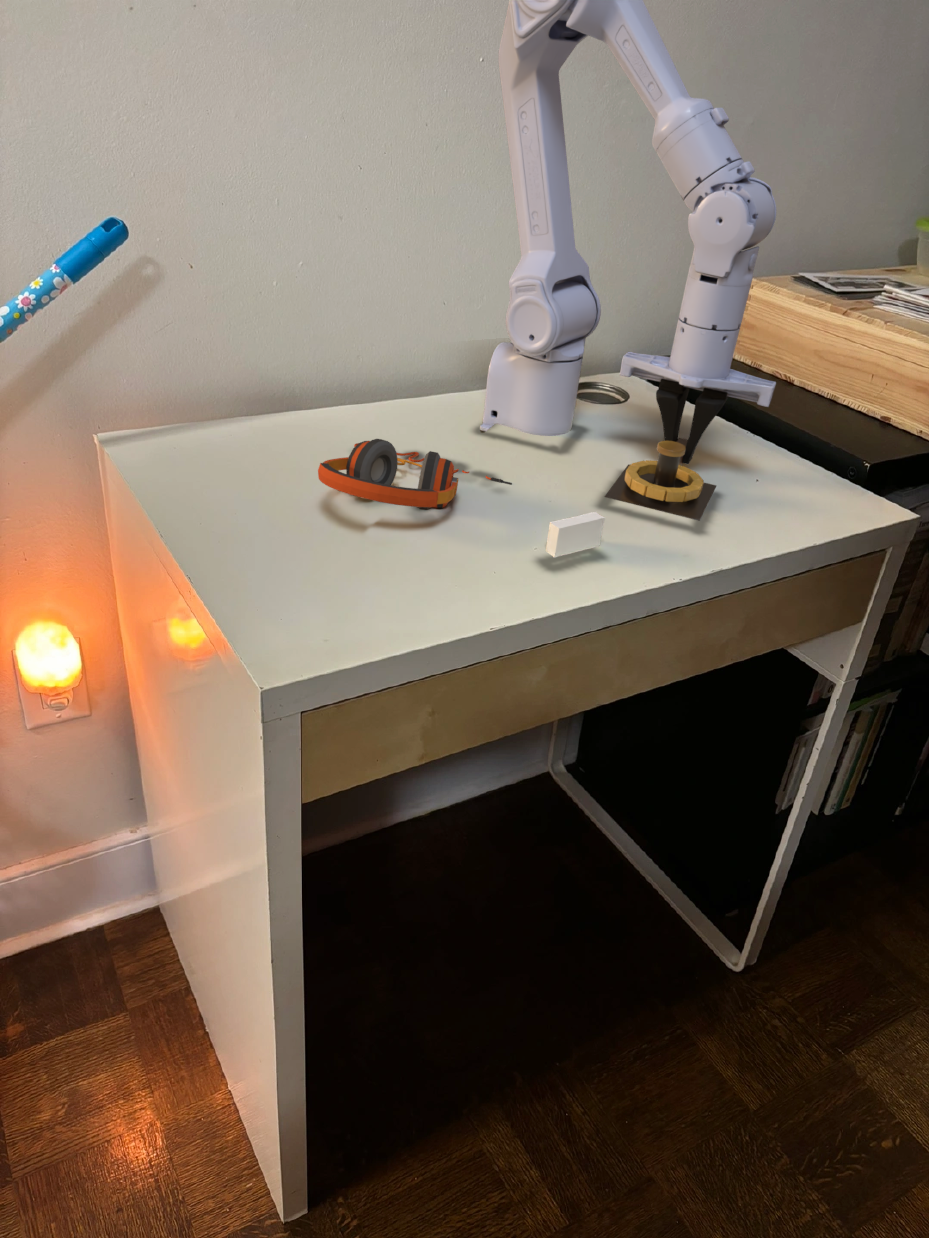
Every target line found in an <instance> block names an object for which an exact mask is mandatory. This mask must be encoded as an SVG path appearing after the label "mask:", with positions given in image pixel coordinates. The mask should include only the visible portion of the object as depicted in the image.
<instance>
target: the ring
mask: <svg viewBox="0 0 929 1238" xmlns="http://www.w3.org/2000/svg"><path fill="white" fill-rule="evenodd" d="M687 441H688V439H686V438H682V437H678V440H677V441H676V442H678V443H681V444H683V445H684V446H685V447H686V444H687ZM682 460H683V456H681V457H680V462H679V466H678V470H677V475H676V478H678V479H680V480H682V481H684V482H686V483H687V484H688V485H689V486H686V487H682V488H669V487H662V486H658V485H654V484H651V483H649V482H647V481H645V480H643V479H641V478H640V477H639V476H640V475H644V474H655V470H656V466H657V461H658V460H651V459H650V460H649V459H648V460H640V461H636V462H632V463H630V464H629V465H630V466H629V467H628V469H627V470H626V474H625V482H626V483H627V485H628V486H629V488H631V489H632V490H634V491H635V492H637V493H639V494H641V495H643V496H644V495H646V497H649V498H653V499H657V500H661V501H664V500H665V501H668V502H683V501H685V502H686V501H689V500H693V499H696V498H697V497H699V495H700V493H701V491H702V488H703V484H704V483H705V482H704V480H703V478H702V477H701V476H700V474H699V473H698V472H696V471H695V470H693V469H691V468H688V467H687V466H684V463H682Z"/></svg>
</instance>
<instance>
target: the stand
mask: <svg viewBox="0 0 929 1238" xmlns="http://www.w3.org/2000/svg"><path fill="white" fill-rule="evenodd" d="M685 450H686V447H685V446H684V445H683V444H681V443H678V442H674V441H665V440H660V441H658V443H657V446H656V451H657V452H658V456H657V460H656V461H657V466H656V470H655V474H644V475H640V476H639V477H640V478H641V479H643V480H645V481H647V482H649V483H651V484H654V485H658V486H662V487H669V488H682V487H686V486H689V485H688V484H687V483H686V482H684V481H682V480H680V479H678V478H676V475H677V470H678V466H679V462H680V457H681V456H683V455H684V454H685ZM629 466H630V464H627V465H626V467H625V468H624V469H623V471H622V472H621V474H620V475H619V476H618V477H617V478H616V480H615V482H614V483H613V484H612V486H611V487H610V488H609V490H608V491H607V492H606V494H605V495H604V498H606V499H607V498H608V499H611V500H614V501H619V502H623V503H626V504H631V505H634V506H639V507H643V508H647V509H650V510H655V511H659V512H662V513H666V514H669V515H670V514H671V515H675V516H678V517H682V518H686V519H690V520H694V521H698V522H699V521H700V520H701V519H702V516H703V515H704V512H705V510H706V508H707V506H708V504H709V502H710V501H711V498H712V496H713V494H714V492H715V490H716V488H717V485H716V484H712V483H708V482H704V484H703V488H702V491H701V493H700V495H699V497H697V498H696V499H693V500H689V501H686V502H685V501H683V502H668V501H665V500H664V501H661V500H657V499H653V498H649V497H646V495H644V496H643V495H641V494H639V493H637V492H635V491H634V490H632V489H631V488H629V486H628V485H627V483H626V482H625V474H626V470H627V469H628V467H629Z"/></svg>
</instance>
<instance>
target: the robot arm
mask: <svg viewBox="0 0 929 1238" xmlns="http://www.w3.org/2000/svg"><path fill="white" fill-rule="evenodd" d="M501 34H502V35H501V38H500V43H499V47H498V55H497V56H498V69H499V77H500V78H499V79H500V88H501V95H502V103H503V112H504V121H505V129H506V137H507V146H508V155H509V165H510V171H511V172H510V173H511V179H512V189H513V197H514V205H515V214H516V224H517V230H518V239H519V247H520V248H519V249H520V259H519V261H518V263H517V265H516V267H515V269H514V270H513V272H512V274H511V276H510V278H509V281H508V288H509V289H508V291H509V301H508V306H507V309H506V313H505V330H506V332H507V335H508V339H509V340H510V342H508V341H502V342H499V344H497V346H496V347H495V348H494V351H493V353H492V355H491V357H490V362H489V366H488V370H487V379H486V385H485V386H486V387H485V398H484V406H483V416H482V424H480V425H479V430H480V431H482V432H488V431H489V429H491V428H492V427H493V426H494V425H500V426H504V427H507V428H510V429H514V430H516V431H519V432H521V433H524V434H529V435H533V436H540V437H541V436H542V437H554V436H555V437H556V436H561V435H565V434H568V433H570V431H571V430H573V424H574V423H573V422H574V416H575V409H576V405H577V404H576V403H577V397H578V391H579V384H580V378H581V371H582V365H583V359H584V353H585V346H586V345H585V344H586V338H588V337H590V336H591V335H592V334H593V333H594V332H595V330H596V329H597V328H598V326H599V323H600V320H601V315H602V305H601V300H600V298H599V295H598V293H597V291H596V290H595V288H594V285H593V284H592V280H591V276H590V267H589V265H588V263H587V262H586V260H585V259H584V258H583V256H582V254H580V252H579V251H578V250H577V248H576V239H575V229H574V218H573V209H572V198H571V189H570V178H569V167H568V166H569V165H568V158H567V156H568V155H567V146H566V135H565V126H564V115H563V104H562V95H561V94H562V93H561V85H560V70H561V68H562V67H563V65H564V64H565V62H566V61H567V60H568V58H569V57H570V55H571V54H572V53H573V51H574V50H575V49H576V47H577V46H578V45H579V44H580V43H581V42H583V41H584V40H585V39H586V38H588V37H590V38H594V39H595V40H599V41H601V42H603V43H605V44H606V46H607V47H608V49H609V50H610V52H611V53H612V55H613V56H614V58H615V60H616V62H617V63H618V64H619V66H620V67H621V69H622V71H623V73H624V74H625V76H626V77H627V79H628V80H629V82H630V83H631V85H632V86H633V88H634V89H635V91H636V93H637V94H638V96H639V98H640V99H641V101H642V102H643V104H644V105H645V107H646V109H647V110H648V113H650V115H651V116H652V118H653V119H654V127H653V132H652V138H651V146H652V147H653V150H654V151H655V153H656V154H657V156H658V158H659V160H660V162H661V164H662V165H663V168H664V169H665V171H666V172H667V174H668V176H669V178H670V179H671V181H672V183H673V185H674V187H675V188H676V191H677V192H678V194H679V195H680V198H681V200H682V201H683V203H684V204H685V206H686V207H687V208H688V209H689V210H690V211H691V212H690V213H689V214H688V218H687V229H688V234H689V237H690V240H691V242H692V244H693V251H692V256H691V260H690V263H689V267H688V272H687V276H686V281H685V285H684V290H683V294H682V295H683V296H682V301H681V304H680V308H679V314H678V319H677V323H676V328H675V332H674V338H673V342H672V347H671V351H670V356H666V355H665V356H664V355H657V354H655V355H654V354H645V353H638V352H632V351H627V352H626V353H625V354H624V355H623V356H622V360H621V363H620V371H619V376H621V377H625V378H631V377H636V378H640V379H644V380H650V381H654V382H658V383H659V385H658V388H657V390H656V391H655V399H656V403H657V406H658V409H659V413H660V417H661V422H662V429H663V439H664V440H663V441H674V442H676V441H677V440H678V438H679V435H680V429H681V422H682V418H683V414H684V410H685V406H686V403H687V398H688V395H689V392H690V389H692V390H697V391H701V393H700V394H699V395H698V396H697V398H696V400H695V403H694V409H693V415H692V421H691V426H690V430H689V434H688V439H687V440H688V441H687V444H686V450H685V454H684V455H683V460H682V463H683V465H684V464H685V465H690V463H691V462H692V460H693V457H694V454H695V451H696V448H697V447H698V444H699V442H700V440H701V438H702V436H703V434H704V432H705V431H706V430H707V428H708V427H709V425H710V424H711V423H712V421H713V420H714V419H715V417H716V416H717V415H718V414H719V412H720V411H721V410H722V409H723V407H724V405H725V404H726V402H727V400H728V398H734V399H738V400H742V401H743V400H744V401H749V402H753V403H756V404H757V405H758V406H762V407H766V408H769V407H770V405H771V403H772V400H773V396H774V392H775V389H776V385H777V382H776V381H773V380H768V379H765V378H762V377H758V376H755V375H751V374H748V373H745V372H742V371H739V370H735V369H732V368H731V366H732V362H733V359H734V354H735V351H736V347H737V342H738V337H739V335H740V330H741V327H742V322H743V318H744V314H745V311H746V306H747V304H748V303H747V302H748V298H749V295H750V290H751V286H752V283H753V279H754V271H755V267H756V263H757V259H758V255H759V251H760V246H757V245H758V244H761V242H762V241H764V240H765V239H766V238H767V237H768V236H769V235H770V234H771V231H772V229H773V228H774V225H775V223H776V218H777V204H776V200H775V196H774V195H773V190H772V189H773V188H772V187H771V185H769V184H768V183H767V182H765V181H764V180H762V179H760V178H758V177H757V178H756V177H752V175H753V174H755V172H756V170H755V167H754V166H753V164H752V162H751V161H744V159H743V158H742V156H741V154H740V152H739V150H738V149H737V147H736V144H735V143H734V141H733V139H732V138H731V136H730V134H729V132H728V131H727V129H726V127H725V125H726V124H727V123H728V122H729V121H730V118H729V116H728V114H727V112H726V110H725V109H724V108H723V107H714V105H713V103H712V102H711V100H709V99H707V98H700V97H692V96H690V94H689V92H688V90H687V87H686V86H685V84H684V81H683V79H682V76H681V75H680V73H679V71H678V69H677V67H676V65H675V63H674V61H673V59H672V57H671V54H670V53H669V51H668V49H667V47H666V45H665V43H664V41H663V38H662V36H661V35H660V32H659V31H658V28H657V26H656V24H655V22H654V20H653V18H652V16H651V14H650V12H649V10H648V8H647V5H646V4H645V2H644V0H508V5H507V8H506V14H505V18H504V24H503V28H502V32H501Z"/></svg>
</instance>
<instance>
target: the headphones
mask: <svg viewBox="0 0 929 1238" xmlns="http://www.w3.org/2000/svg"><path fill="white" fill-rule="evenodd" d="M419 455H420V453H419V452H418V451H412V452H405V453H404V452H403V453H400V452H397V451H396V448H395V446H394V445H393V443H392V442H390V441H389V440H385V439H382V438H373V439H371V440H363V441H361V442H357V443H354V444H353V448H352V450H351V452H350V453H349V456H347V457H338V458H331V459H327V460H325V461H323V462H320V463H319V466H318V468H317V476H318V477H317V478H318V480H319V481H320V483H322V484H323V485H325V486H327V487H328V488H331V489H333V490H335V491H337V492H338V491H339V492H341V493H343V494H347V495H349V496H354V497H357V498H361V499H365V500H369V501H374V502H377V503H383V504H390V505H395V506H396V505H397V506H402V507H403V506H404V507H413V508H418V509H421V510H430V509H433V508H434V509H444V508H446V507H447V506H448V504H449V503H450V502H451V501H452V500H453V499H454V497H455V496H456V495H457V490H458V485H459V477H456V476H454V475H455V473H457V472H458V471H459V470H460V469H459V468H457V469H455V465H454V464H453V461H451V460H449V459H447V458H442V457H441V455H440V454H439V452H437V451H432V450H429V451H428V452H427V453H426V454H425V456H424V457H423V458H421V459H415V458H416V457H418V456H419ZM399 456H400V457H404V456H405V457H406V456H408V460H407V459H403V458H400V457H399ZM420 463H422V464H420ZM406 464H410V465H414V466H417V467H419V468H421V469H420V473H419V478H418V484H417V488H415V487H405V486H399V485H398V486H397V485H392V484H393V483H394V481H395V478H396V476H397V472H398V466H405V465H406ZM342 471H345V473H344V472H342ZM461 472H462V474H469V473H470V471H465V470H464V469H462V470H461ZM485 478H486V479H487V480H490V481H491V482H496V483H500V484H506V485H509V486H510V485H511V486H512V485H513V483H512V482H510V481H505V480H504V479H501V478H497V477H489V476H487V475H485Z"/></svg>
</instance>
